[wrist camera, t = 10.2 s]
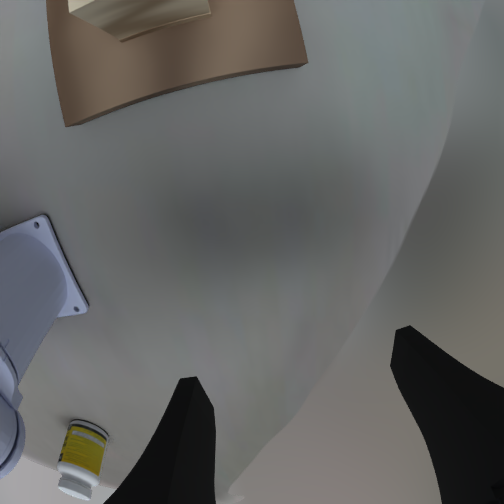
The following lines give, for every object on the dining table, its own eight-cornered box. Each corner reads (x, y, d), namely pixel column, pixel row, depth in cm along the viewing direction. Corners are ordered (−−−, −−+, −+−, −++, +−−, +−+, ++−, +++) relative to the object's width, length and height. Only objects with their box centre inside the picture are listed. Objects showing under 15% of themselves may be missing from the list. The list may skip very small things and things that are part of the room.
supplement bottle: (66, 413, 27) (46, 479, 18) (107, 426, 28) (92, 496, 20) (74, 433, 29) (58, 492, 21) (111, 444, 30) (100, 506, 22)
